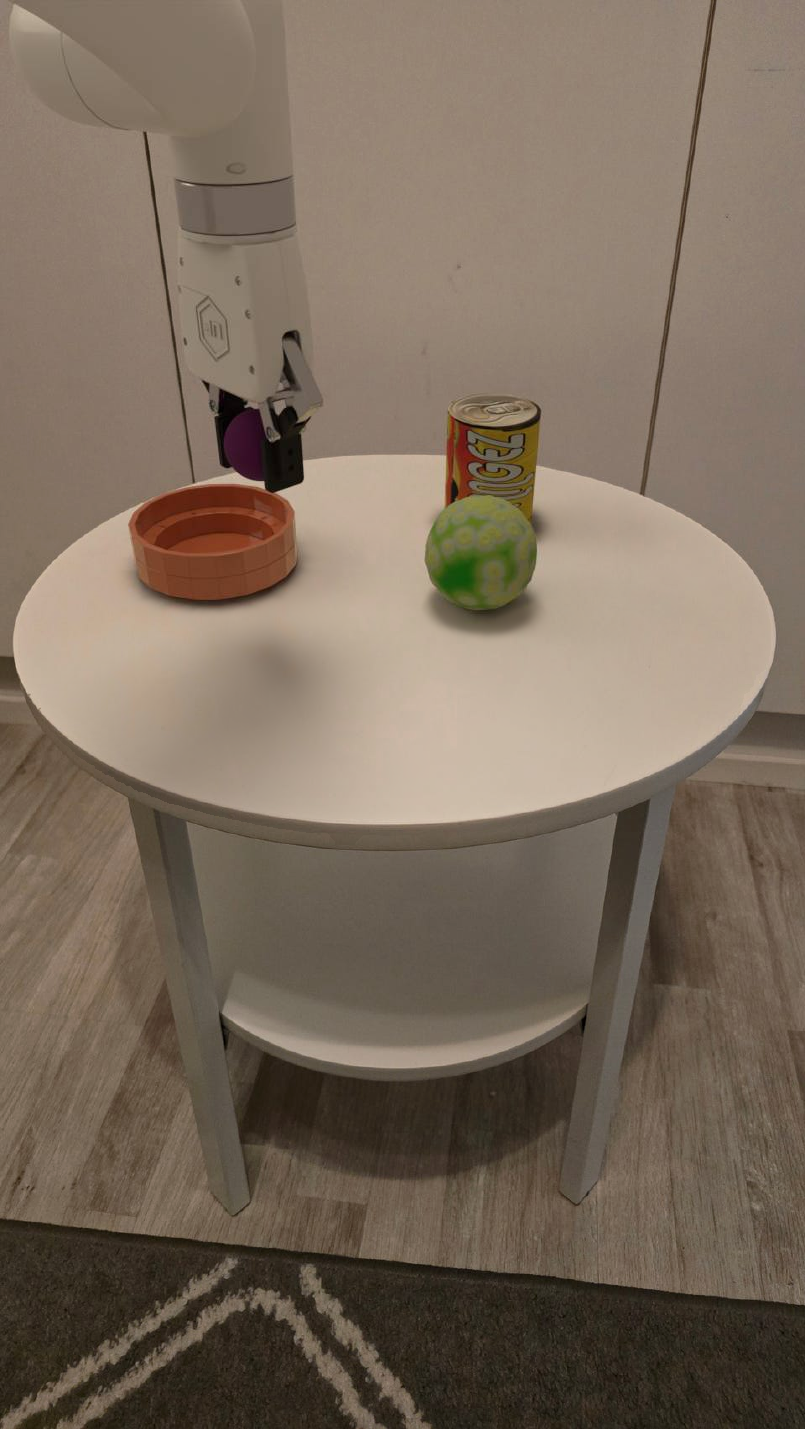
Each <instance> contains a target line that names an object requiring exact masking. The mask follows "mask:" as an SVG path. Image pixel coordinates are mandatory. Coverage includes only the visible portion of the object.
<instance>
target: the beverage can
mask: <svg viewBox="0 0 805 1429" xmlns="http://www.w3.org/2000/svg"><path fill="white" fill-rule="evenodd" d="M541 416H542V408H541V407H540V406H539V405H538V404H536V403H535V402H534V401H533V400H530V399H528V398H525V397H521V396H518V395H513V394H506V393H505V394H504V393H477V394H470V395H466V396H463V397H458V398H457V399H455V400H453V401H452V402H451V403H450V404H448V406H447V417H446V418H447V419H446V420H447V422H446V450H445V451H446V452H445V454H446V455H445V457H446V458H445V484H444V485H445V488H444V490H445V491H444V509H446V508H447V507H448V506H449V505H450V504H452V503H454V502H455V501H458V500H462V499H463V498H466V497H473V496H486V495H490V496H494V497H499V498H502V499H504V500H506V501H508V502H509V503H511V504H512V505H513V506H515V507H516V508H518V509H519V510H521V512H522V513H523V514H524V516H525V517H526V519H527V520H528V521H529V523H530V524H531V525H532V519H533V508H534V497H535V483H536V476H537V475H536V474H537V462H538V452H539V441H540V430H541V429H540V428H541Z"/></svg>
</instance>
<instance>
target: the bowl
mask: <svg viewBox="0 0 805 1429" xmlns="http://www.w3.org/2000/svg"><path fill="white" fill-rule="evenodd" d="M127 526H128V532H129V537H130V541H131V549H132V554H133V559H134V564H135V569H136V572H137V576H138V578H139V579H140V581H142V582H143V583H144V584H145V585H147V586H148V588H150V589H152V590H154V591H157V592H159V593H161V594H164V595H166V596H169V597H175V598H181V599H188V600H194V601H205V600H206V601H208V600H209V601H211V600H212V601H213V600H218V601H219V600H226V599H231V598H237V597H243V596H247V595H251V594H253V593H257V592H259V591H262V590H266V589H268V588H270V587H272V586H274V585H275V584H277V583H278V582H280V581H282V580H283V579H285V578H286V577H287V576H288V575H289V574H290V572H291V571H292V570H293V569H294V568H295V566H296V564H297V560H298V541H297V540H298V539H297V526H296V511H295V510H294V508H293V507H292V505H291V503H290V501H289V500H287V498H284V497H283V496H282V495H279V493H277V492H275V493H270V492H268V491H267V490H266V489H265V488H262V487H259V486H256V485H255V486H254V485H248V484H247V485H245V484H238V483H207V484H200V485H193V486H187V487H186V486H185V487H183V488H179V489H175V490H172V491H169V492H165V493H162V494H160V495H157V496H156V497H153V498H152V499H150V500H147V501H146V502H143V504H142V505H140V506H139V507H138V508H137V509H136V510H135V511H134V512H133V513H132V514H131V517H130V518H129V522H128V525H127Z"/></svg>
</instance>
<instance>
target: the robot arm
mask: <svg viewBox="0 0 805 1429" xmlns="http://www.w3.org/2000/svg"><path fill="white" fill-rule="evenodd" d="M7 2H10V3H12V4H13V6H12V8H11V12H10V17H9V26H8V39H9V47H10V51H11V55H12V59H13V62H14V64H15V67H16V69H17V71H18V73H19V75H20V77H21V79H22V81H23V82H24V84H25V85H26V86H27V88H28V89H29V91H30V92H31V94H33V96H34V97H35V98H36V99H37V100H38V101H40V103H41V104H43V105H44V106H45V107H47V109H49V110H51V111H52V112H54V113H55V114H57V115H59V116H61V117H63V118H65V119H68V120H70V121H71V122H75V123H79V124H82V125H87V126H92V127H97V128H104V129H114V130H121V131H136V132H145V133H152V134H159V135H165V136H166V135H167V137H168V147H169V153H170V163H171V169H172V176H173V184H174V185H173V186H174V192H175V193H174V194H175V200H176V207H177V215H178V216H177V217H178V223H179V227H178V231H177V232H178V233H177V246H176V248H177V252H176V254H177V256H176V265H177V266H176V270H177V272H176V273H177V292H178V293H177V294H178V295H177V296H178V307H179V319H180V320H179V321H180V329H181V341H182V348H183V349H182V350H183V357H184V362H185V366H186V368H187V369H188V370H189V372H190V373H191V374H192V375H194V376H195V377H196V378H198V379H200V380H201V382H202V384H203V385H204V387H205V389H206V392H207V393H208V408H209V410H210V412H211V413H212V414H213V415H215V416H213V418H214V427H215V435H216V443H217V451H218V452H217V453H218V459H219V460H218V461H219V465H220V467H222V468H224V469H226V470H227V469H230V468H232V466H231V465H230V463H229V462H228V459H227V457H226V454H225V450H224V437H225V433H226V430H227V428H228V426H229V424H230V423H231V421H232V420H233V419H234V418H235V417H236V416H237V415H239V414H240V413H242V412H244V411H247V410H250V409H255V408H254V407H252V406H248V404H249V402H250V403H253V404H257V405H258V409H259V410H260V414H261V418H262V422H263V426H264V430H265V434H266V438H263V439H260V441H261V453H262V464H263V475H264V481H263V484H264V489H266V490H267V491H268V492H270V493H277V492H280V491H284V490H286V489H289V488H293V487H295V486H298V485H301V484H302V483H303V482H304V480H305V471H304V470H305V469H304V454H303V453H304V452H303V441H302V440H303V439H302V434H304V433H306V431H307V424H308V423H309V421H311V418H312V416H313V415H314V414H316V413H317V411H319V410H320V409H321V408H322V407H323V405H324V398H323V395H322V393H321V391H320V388H319V387H318V385H317V382H316V381H315V380H316V379H315V378H314V343H313V329H312V328H313V327H312V319H311V311H310V303H309V296H308V295H309V294H308V287H307V280H306V274H305V269H304V264H303V258H302V253H301V248H300V243H299V239H298V236H297V235H295V234H297V232H298V228H297V226H298V225H297V209H296V192H295V178H294V176H295V175H294V162H293V160H294V159H293V146H292V145H293V144H292V130H291V128H292V127H291V116H290V114H291V113H290V112H291V111H290V98H289V80H288V63H287V62H288V61H287V45H286V30H285V29H286V28H285V13H284V4H283V0H7ZM280 384H282V388H280V389H278V388H279V386H280ZM283 400H284V405H285V407H284V408H283V409H282V410H281V412H280V413H279V414H278V415H279V416H278V417H277V416H276V414H277V412H276V407H275V404H274V403H276V402H280V401H283Z"/></svg>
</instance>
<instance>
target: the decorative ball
mask: <svg viewBox="0 0 805 1429" xmlns="http://www.w3.org/2000/svg"><path fill="white" fill-rule="evenodd" d="M537 543H538V542H537V536H536V532H535V530H534V527H533V525H532V523H531V524H530V523H529V521H528V520H527V519H526V517H525V516H524V514H523V513H522V512H521V510H519V509H518V508H516V507H515V506H513V505H512V504H511V503H509V502H508V501H506V500H504V499H502V498H499V497H494V496H490V495H486V496H473V497H466V498H463V499H462V500H458V501H455V502H454V503H452V504H450V505H449V506H448V507H447V508H446V509H445V508H444V509H443V510H442V511H441V513H440V514H439V515H438V517H437V518H436V520H435V521H434V523H433V525H432V527H431V529H430V530H429V532H428V535H427V538H426V543H425V551H424V563H425V566H426V570H427V573H428V578H429V580H430V582H431V583H432V585H433V586H434V587H435V588H436V590H438V591H439V593H440V594H441V595H442V597H443V598H445V600H447V601H449V603H451V604H453V605H455V606H460V607H462V608H465V609H467V610H471V611H489V610H496V609H498V608H501V607H504V606H505V605H507V604H508V603H510V602H511V601H513V600H514V599H516V598H517V597H519V596H520V595H521V594H522V593H523V592H524V591H525V590H526V589H527V587H528V585H529V584H530V582H531V581H532V579H533V575H534V573H535V570H536V566H537V557H538V544H537Z"/></svg>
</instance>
